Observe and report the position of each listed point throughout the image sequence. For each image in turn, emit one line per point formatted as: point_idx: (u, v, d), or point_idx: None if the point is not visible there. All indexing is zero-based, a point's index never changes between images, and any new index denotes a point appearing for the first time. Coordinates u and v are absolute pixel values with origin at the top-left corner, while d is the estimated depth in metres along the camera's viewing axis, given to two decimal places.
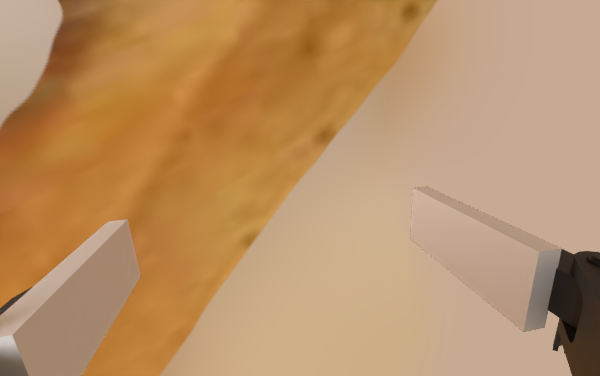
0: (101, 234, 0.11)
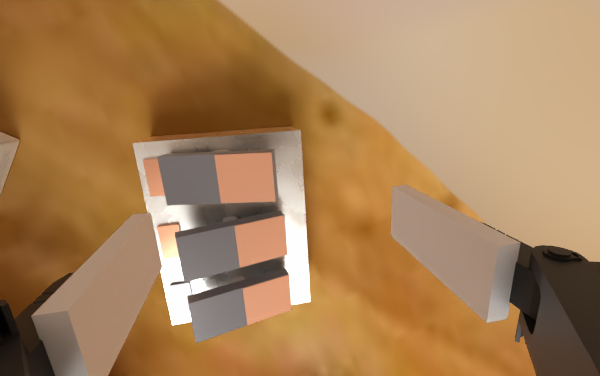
0: (128, 225, 0.12)
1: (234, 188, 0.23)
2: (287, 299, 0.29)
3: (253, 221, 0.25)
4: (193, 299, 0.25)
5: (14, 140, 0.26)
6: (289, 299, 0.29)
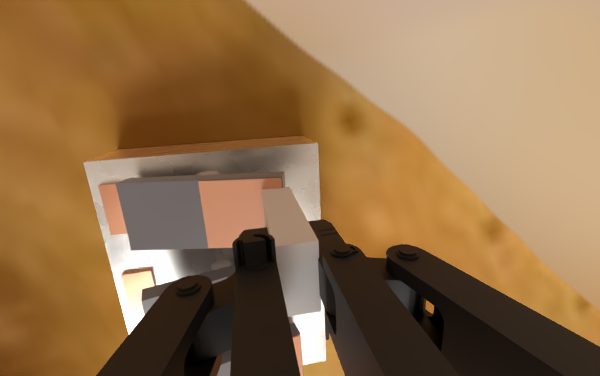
0: (269, 196, 0.14)
1: (228, 227, 0.16)
2: None
3: None
4: None
5: None
6: (300, 365, 0.22)
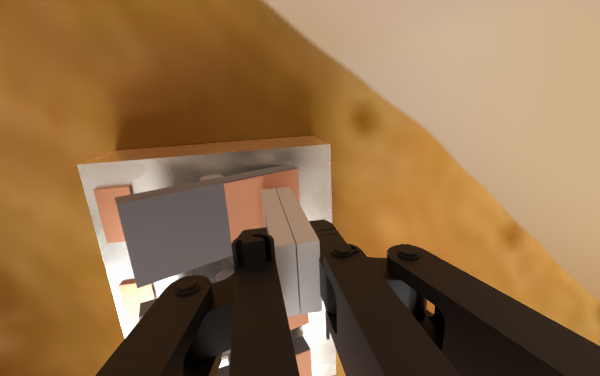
0: (269, 196, 0.14)
1: (252, 226, 0.16)
2: None
3: None
4: None
5: None
6: None
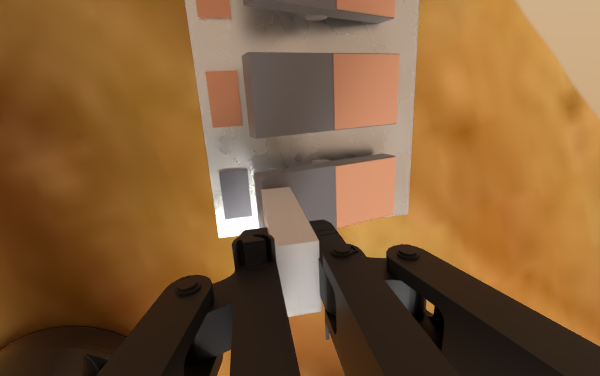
0: (269, 196, 0.14)
1: None
2: (390, 197, 0.20)
3: (358, 54, 0.16)
4: (266, 174, 0.16)
5: None
6: (392, 197, 0.20)
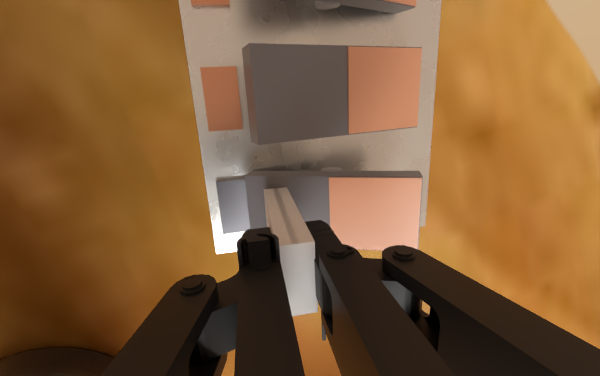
0: (272, 196, 0.14)
1: None
2: (411, 229, 0.15)
3: (376, 47, 0.14)
4: (255, 174, 0.16)
5: None
6: (415, 230, 0.15)
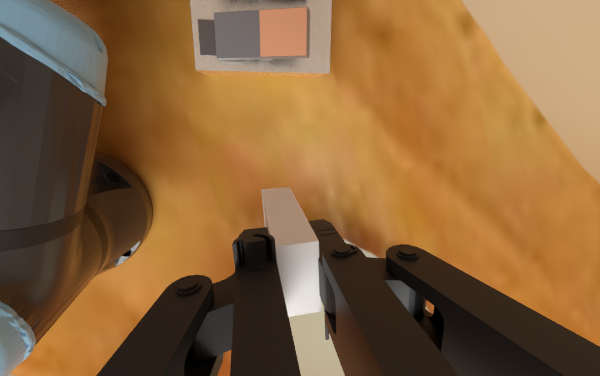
0: (269, 196, 0.14)
1: None
2: (302, 40, 0.27)
3: None
4: (220, 13, 0.28)
5: None
6: (305, 40, 0.27)
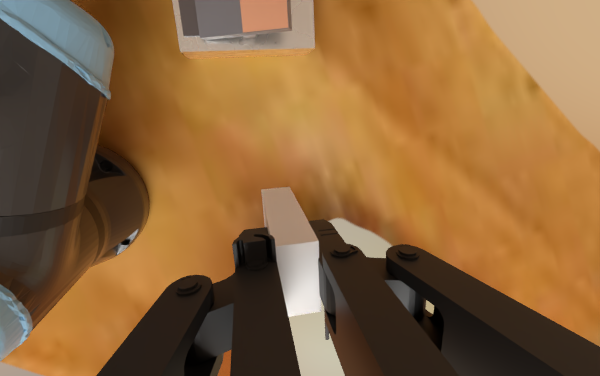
0: (269, 196, 0.14)
1: None
2: (284, 12, 0.27)
3: None
4: None
5: None
6: (286, 12, 0.27)
